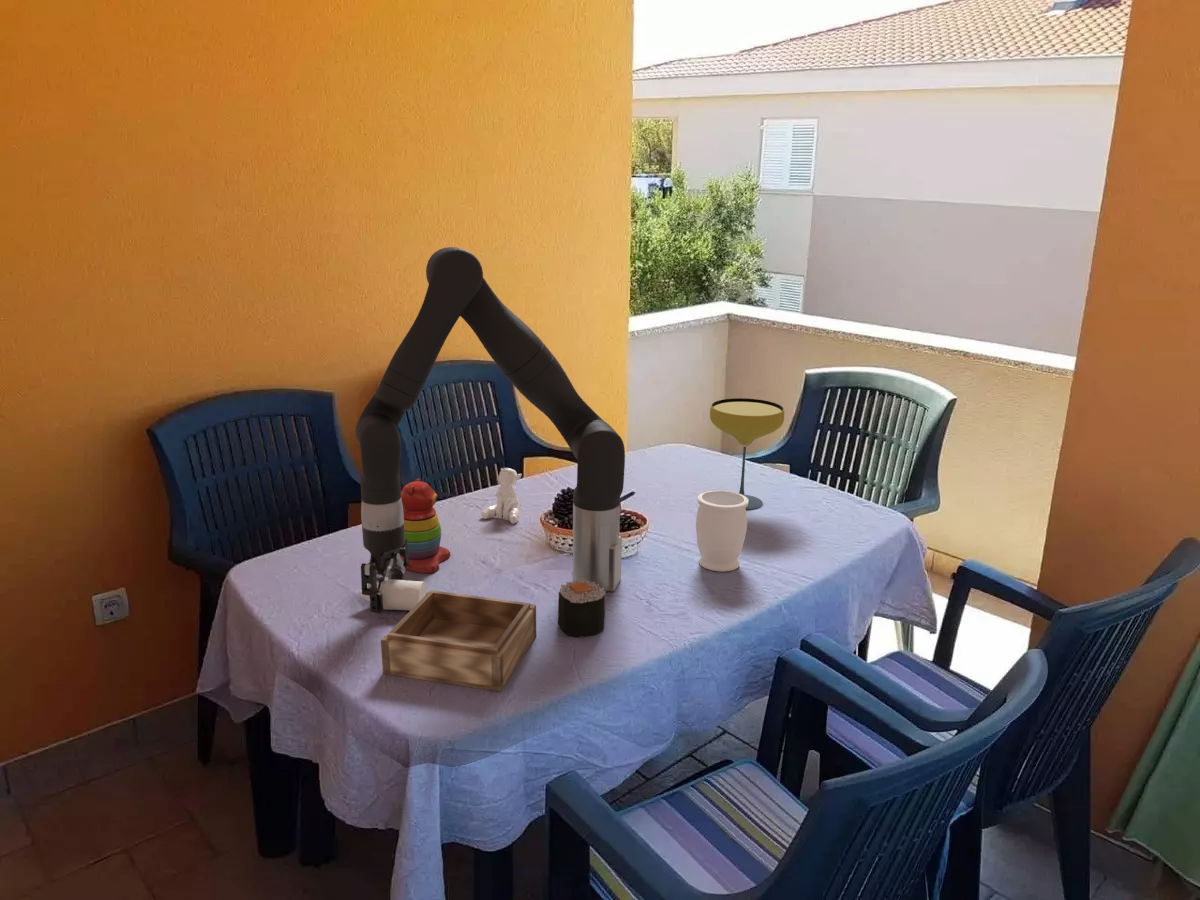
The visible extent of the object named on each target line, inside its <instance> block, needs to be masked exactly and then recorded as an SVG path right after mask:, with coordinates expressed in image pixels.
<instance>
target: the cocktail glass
mask: <svg viewBox="0 0 1200 900" xmlns="http://www.w3.org/2000/svg"><path fill="white" fill-rule="evenodd" d="M709 419H710V421H711V423H712V424H713V426H715V427H716V428H717V429H719V430H721V432H724V433H725V434H727V435H730V436H731V437H733V438H734V439H736V441H737V442H738V443H739V444H740V446H742V448H743V449H742V465H741V466H742V467H741V478H740V480H741V481H740V486H739V487H740V488H739V492H738V493H739V494H742V495H744V496H746V497H747V498H748V500H749V501H748V506H747V507H746V508H745V509H746V511H752V510H757V509H759V507H760V508H761V507H762V506H763V504H764V503H763V501H762V499H760V498H758V497H756V496H753V495H750V494H745V469H746V467H745V465H746V453H747V451H746V450H747V447H749V446H750V445H751V444H752V443H753V442H755V440H757V439H759V438H761V437H764V436H767V435H769V434H772V433H774V432H776V431H777V430H778V429H780V428H781V427H782V425H783V424H784V421H785V409H784V407H783V406H782V405H780V404H778V403H776V402H773V401H770V400H763V399H759V398H745V397H744V398H742V397H738V398H734V397H733V398H725V399H721V400H716V401H714V402H712V403H711V406H710V409H709Z"/></svg>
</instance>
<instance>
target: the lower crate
mask: <svg viewBox="0 0 1200 900" xmlns="http://www.w3.org/2000/svg"><path fill="white" fill-rule="evenodd" d="M430 591H431V590H428V591H427V593H426V594H425V596H426V595H427V594H428V593H429V592H430ZM425 596H424V597H425ZM424 597H423V598H424ZM423 598H422V599H423ZM422 599H421V600H422ZM421 600H420V601H421ZM420 601H419V602H420ZM419 602H418V603H419ZM418 603H417V604H418ZM417 604H416V605H417ZM416 605H415V606H416ZM415 606H414V607H415ZM414 607H413V608H414ZM394 628H395V626H394V627H393V628H392V629H391V630H390V631H389V632H388V633H387V634H386V635H384V636H382V638H381V639H380V647H381V648H380V651H381V664H382V674H385V675H391V676H396V677H403V678H410V679H415V680H422V681H427V682H428V681H429V682H435V683H441V684H449V685H453V686H461V687H467V688H473V689H479V690H487V691H493V692H499V693H501V691H502V690H503V689H504V687H505V685H507V683H508V681H509V679H510V678H511V676H512V675H513V673H514V671H515V670H516V669H517V667H518V666H519V664H520V663H521V661H522V659H523V658H524V656H525V655H526V653H527V652H528V650H529V649H530V647H531V646H532V643H533V642H534V641H535V639H536V638H537V605H536V604H531V603H530V608H529V610H528V611H527V613H526V614H525V616H524V617H523V619H522V620H521V621H520V623H519V624H518V626H517V627H516V628H515V630H514V631H513V633H512V634H511V636H510V637H509V638H508V640H507V641H506V643H505V644H504V646H503V647H502V648H501V650H500V651H499V652H498V653H497V654H485V653H478V652H471V651H465V650H458V649H451V648H444V647H437V646H431V645H424V644H417V643H410V642H403V641H397V640H391V639H390V638H388V637H387V635H388V634H389V633H390V632H391V631H392V630H393V629H394Z"/></svg>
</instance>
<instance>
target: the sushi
mask: <svg viewBox="0 0 1200 900" xmlns="http://www.w3.org/2000/svg"><path fill="white" fill-rule="evenodd" d="M598 586H599V584H596V585H595V582H592V583H591V582H590V581H587V580H581V581H580V580H579V579H577V580H576V582H574V581H573V580H572V581H568V582H566V583H565V584H561V585H560V589H559V592H558V602H557V603H558V605H557V607H558V608H557V625H558V627H559V629H560V630H561V632H562V633H563V635H566V636H567V637H571V638H584V637H585V638H586V637H590V636H595V635H598V634H600V633H602V632H603V631H604V630H605V613H606V611H605V609H606V605H605V601H606V599H605V598H606V597H605V595H606V591H603V590H604V588H600V587H598Z"/></svg>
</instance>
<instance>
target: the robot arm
mask: <svg viewBox="0 0 1200 900" xmlns="http://www.w3.org/2000/svg"><path fill="white" fill-rule="evenodd" d="M425 276H426V280H427V283H428V285H427V290H426V293H425V297H424V299H423V302H422V304H421V307H420V309H419V311H418V313H417V316H416V317H415V320H414V322H413V323H412V325H411V327H410V328H409V330H408V332H407V333H406V335H405V337H404V338H403V339H402V340H401V342H400V344H399V346H398V347H397V349H396V350H395V352H394V354H393V356H392V358H391V359H390V361H389V364H388V365H387V368H386V370H385V371H384V374H383V375H382V379H381V380H380V383H379V384H378V385H379V386H378V388H377V390H376V392H374V393H373V395H372V397H371V398H370V399H369V401H368V403H367V404H366V406H365V407H364V409H363V410H362V412H361V414H360V416H359V418H358V421H357V423H356V426H355V438H356V440H357V442H358V444H359V449H360V454H361V466H362V468H361V469H362V471H361V474H360V495H361V507H360V516H361V517H360V519H361V532H362V545H363V547H364V548H365V550H367V551H368V552H369V554H370V558H369V562H367V563H366V562H365V563H364V562H363V563H361V564H360V578H361V579H360V580H361V581H360V582H361V589H362V595H369V596H370V602H369V605H370V606H369V607H370V612H372V613H375V614H376V613H377V614H381V613H383V611H384V609H383V597H382V590H383V586H384V584H385V583H386V582H387V580H388V579H389V576H391V577H390V579H395V580H405V579H404V574H405V573H406V569H405V567H408V566H409V554H408V542H407V539H405V530H404V512H403V508H404V506H403V504H402V499H401V491H402V487H401V477H400V476H401V475H400V468H401V455H402V444H401V443H402V442H401V435H400V432H399V429H398V426H399V424H400V422H401V421H402V418H403V417H404V416H405V414H406V412H407V411H409V410H411V409H412V408H413V407H414V406H415V404H416V403H417V400H418V399H419V397H420V395H421V393H422V390H423V388H424V387H425V384H426V383H427V380H428V378H429V376H430V373H431V371H432V370H433V367H434V365H435V363H436V361H437V358H438V356H439V354H440V352H441V350H442V348H443V346H444V344H445V342H446V340H447V338H448V337H449V335H450V333H451V331H452V329H453V328H454V326H455V325H456V322H458V320H459V318H462V319H463V321H465V323H467V325H468V326H469V328H470V329H472V331H473V332H474V333H473V334H475V335H476V337H477V339H478V340H479V341H480V343H481V344H482V346H483V347H484V348H485V350H486V352H487V353H488V354H489V356H490V358H491V359H492V360H493V362H494V364H496V366H498V368H499V370H500V371H501V372H502V373H503V375H504V376H505V377H506V378H507V379H508V381H509V382H510V384H512V386H514V388H515V389H516V390H517V392H519V393H520V394H521V395H522V396H523V397H524V398H525V399H526V400H527V401H529V403H531V405H533V406H534V407H535V408H537V410H539V411H540V412H541V413H543V414H544V415H545V416H546V417H547V418H548V419H549V421H551V423H552V424H553V425H554V426H555V428H556V429H557V431H558V432H559V434H560V435H561V436H562V438H563V440H565V443H566V444H567V446H568V447H569V449H570V451H571V453H572V455H573V456H574V457H575V459H576V460H577V461H576V465H577V468H576V469H577V470H576V473H577V475H576V486H575V488H574V489H573V493H572V494H573V495H572V496H573V497H572V582H573V581H574V582H576V580H577V579H579V580H580V581H581V580H587V581H590V582H591V583H592V582H595V585H596V584H599V586H598V587H600V588H604V590H603V591H605V592H615V591H616V589H617V587H618V586H619V583H620V582H621V579H622V550H623V549H622V548H623V547H622V544H623V543H622V542H623V540H622V539H623V537H622V536H621V535H620V522H621V520H620V519H621V496H622V494H623V490H624V482H625V463H626V451H625V449H626V448H625V444H624V441H623V439H622V437H621V436H620V434H618V432H617V431H616V430H615V429H614V428H613V427H612V426H611V425H610V423H607V421H605V420H604V419H602V418H601V416H599V415H598V413H596V412H595V411H594V410H593V409H592V408H591V407H590V406H589V404H587V402H585V401H584V399H582V397H581V396H580V395H579V393H578V392H577V391H576V389H575V386H574V385H573V384H572V381H571V379H570V378H569V377H568V374H567V373H566V371H565V370H564V368H563V367H562V365H561V364H560V362H559V361H558V360H557V358H556V357H555V355H554V354H553V353H552V352H551V351H550V349H549V348H548V347H547V346H546V344H545V343H544V341H543V340H541V338H540V337H539V336H538V335H537V334H536V333H535V332H534V331H533V330H532V329H531V327H529V326H528V325H527V324H526V323H525V322H524V321H523V320H522V319H521V318H519V317H518V316H517V315H516V314H515V312H513V311H512V310H510V309H509V308H508V307H507V306H506V305H505V304H504V303H503V301H501V300H500V298H499V297H498V296H497V294H495V292H494V291H493V289H492V288H491V286H490V284H488V283H487V281H486V279H485V278H484V270H483V267H482V265H481V262H480V260H479V259H478V257H477V256H476V255H474V254H473V253H472V252H470V251H469V250H467V249H464V248H460V247H455V246H447V247H443V248H439V249H437V250H436V251H435V252H433V254H431V256H430V257H429V259H428V261H427V264H426V269H425ZM400 556H403V557H404V560H402V559H401V558H400ZM390 574H391V575H390ZM377 575H378V576H377ZM380 576H381V577H380ZM377 583H379V584H378V588H377ZM367 587H368V588H367Z"/></svg>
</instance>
